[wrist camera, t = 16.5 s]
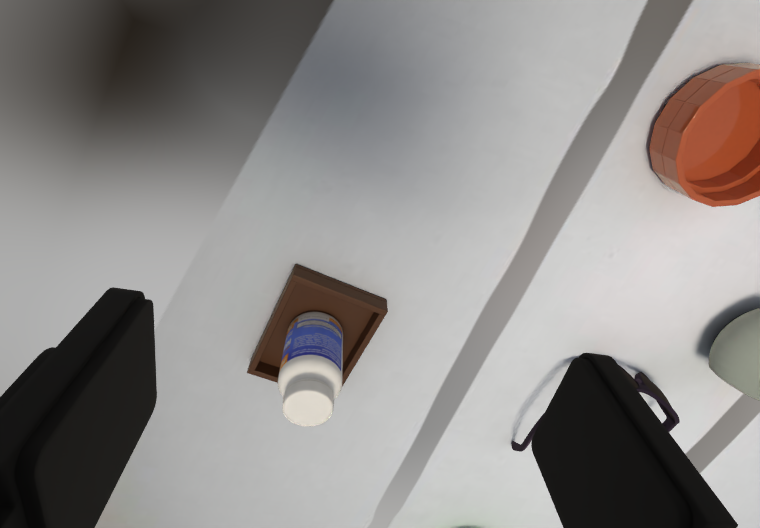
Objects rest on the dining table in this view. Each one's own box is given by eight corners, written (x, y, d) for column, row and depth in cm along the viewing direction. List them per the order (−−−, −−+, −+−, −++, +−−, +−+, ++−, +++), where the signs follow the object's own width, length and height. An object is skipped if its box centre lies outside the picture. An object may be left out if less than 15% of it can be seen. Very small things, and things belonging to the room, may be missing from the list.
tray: (295, 263, 41) (293, 274, 39) (386, 299, 43) (387, 311, 41) (250, 359, 46) (246, 372, 44) (334, 386, 48) (333, 400, 46)
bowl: (622, 136, 37) (651, 149, 33) (737, 32, 33) (782, 34, 30) (685, 211, 40) (717, 229, 37) (794, 124, 37) (841, 135, 33)
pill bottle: (282, 312, 43) (264, 387, 34) (340, 306, 43) (336, 379, 34) (293, 357, 45) (279, 436, 37) (347, 351, 45) (345, 429, 37)
